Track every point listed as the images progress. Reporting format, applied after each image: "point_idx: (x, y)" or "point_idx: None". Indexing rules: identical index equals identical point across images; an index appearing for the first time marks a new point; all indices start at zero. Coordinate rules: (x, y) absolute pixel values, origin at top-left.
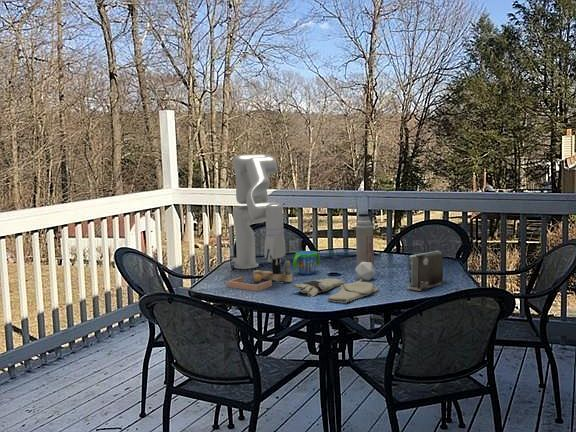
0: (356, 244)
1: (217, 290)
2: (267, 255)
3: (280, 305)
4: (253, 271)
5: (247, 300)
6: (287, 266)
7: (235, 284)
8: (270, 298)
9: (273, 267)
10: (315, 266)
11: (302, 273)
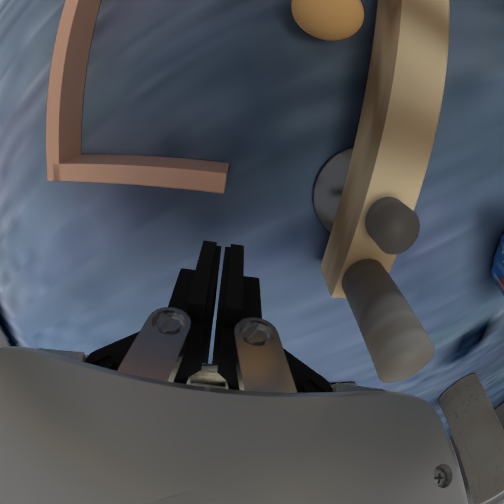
0: (489, 448)
1: None
2: (24, 412)
3: (21, 343)
4: None
5: None
6: (364, 338)
7: None
8: (32, 294)
9: (170, 306)
10: None
11: (499, 246)
